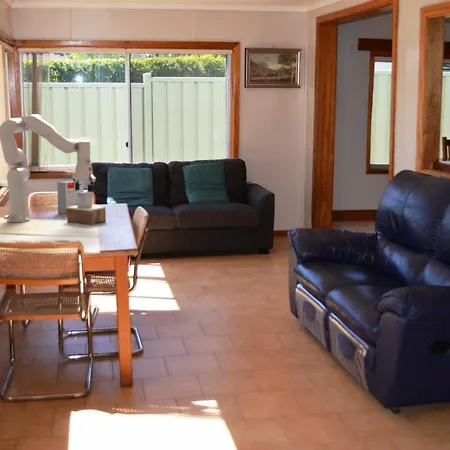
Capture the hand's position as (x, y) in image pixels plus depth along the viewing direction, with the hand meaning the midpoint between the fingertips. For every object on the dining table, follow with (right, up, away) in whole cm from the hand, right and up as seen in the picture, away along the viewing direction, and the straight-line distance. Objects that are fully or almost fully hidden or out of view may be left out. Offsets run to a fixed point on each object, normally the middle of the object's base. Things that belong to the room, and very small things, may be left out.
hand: (83, 191), depth 419 cm
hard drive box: (-15, -12, +37) cm, 42 cm away
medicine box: (0, -10, +2) cm, 10 cm away
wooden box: (+1, -18, +4) cm, 18 cm away
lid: (+1, -10, +3) cm, 10 cm away
